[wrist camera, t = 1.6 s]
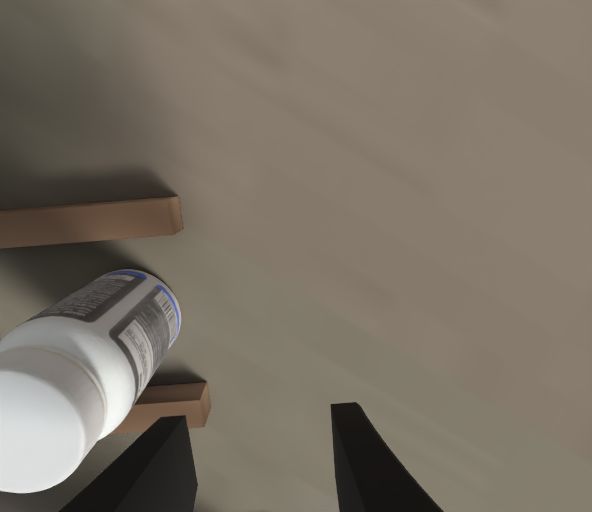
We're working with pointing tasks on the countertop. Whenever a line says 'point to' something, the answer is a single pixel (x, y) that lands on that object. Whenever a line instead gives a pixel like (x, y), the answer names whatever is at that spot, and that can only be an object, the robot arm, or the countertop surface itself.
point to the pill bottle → (79, 374)
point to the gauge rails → (108, 226)
